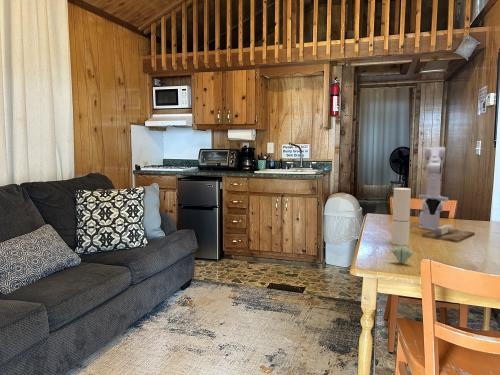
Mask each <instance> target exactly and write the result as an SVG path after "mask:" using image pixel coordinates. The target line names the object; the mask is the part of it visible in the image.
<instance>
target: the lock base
mask: <svg viewBox="0 0 500 375" xmlns="http://www.w3.org/2000/svg"><path fill="white" fill-rule="evenodd" d="M421 235H422V236H421V237H423V238H428V239H434V240H438V241H439V240H441V241H445V242H452V243H460V242H462V241H464V240H467V239H470V238H471V237H473V236H475V235H476V233H475V231H468V230H467V231H465V230H459V229H454V228H453V232H451V233H445V234H442V235H441V236H437V235H435V230H430V231H427V232H425V233H422V234H421Z"/></svg>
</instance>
